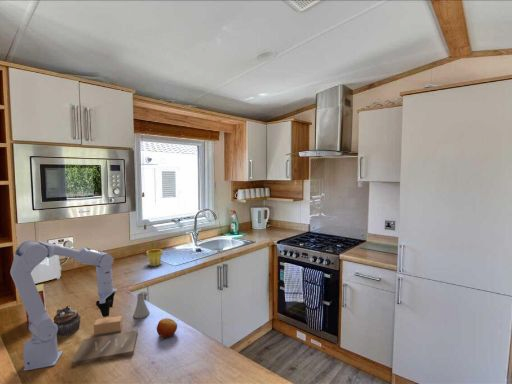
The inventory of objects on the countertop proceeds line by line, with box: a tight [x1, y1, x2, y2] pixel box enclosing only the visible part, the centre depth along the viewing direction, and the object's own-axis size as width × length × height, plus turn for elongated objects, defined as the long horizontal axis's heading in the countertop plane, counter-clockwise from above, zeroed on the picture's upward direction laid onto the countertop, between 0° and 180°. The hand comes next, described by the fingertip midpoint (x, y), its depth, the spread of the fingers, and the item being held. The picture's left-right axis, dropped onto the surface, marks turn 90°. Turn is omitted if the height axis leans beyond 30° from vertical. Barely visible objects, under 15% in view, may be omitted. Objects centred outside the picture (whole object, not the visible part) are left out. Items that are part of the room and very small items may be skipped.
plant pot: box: [146, 248, 163, 267], centre depth 204 cm, size 10×10×10 cm
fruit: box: [156, 317, 178, 342], centre depth 119 cm, size 8×8×8 cm
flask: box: [133, 292, 150, 319], centre depth 136 cm, size 7×7×10 cm
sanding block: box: [93, 315, 124, 337], centre depth 123 cm, size 10×4×5 cm, turn 106°
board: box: [71, 329, 139, 367], centre depth 111 cm, size 20×14×2 cm
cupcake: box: [53, 305, 82, 337], centre depth 124 cm, size 10×10×10 cm
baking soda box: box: [25, 283, 47, 330], centre depth 131 cm, size 10×6×16 cm
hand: (107, 311), depth 122 cm, fingers open, 7 cm apart
